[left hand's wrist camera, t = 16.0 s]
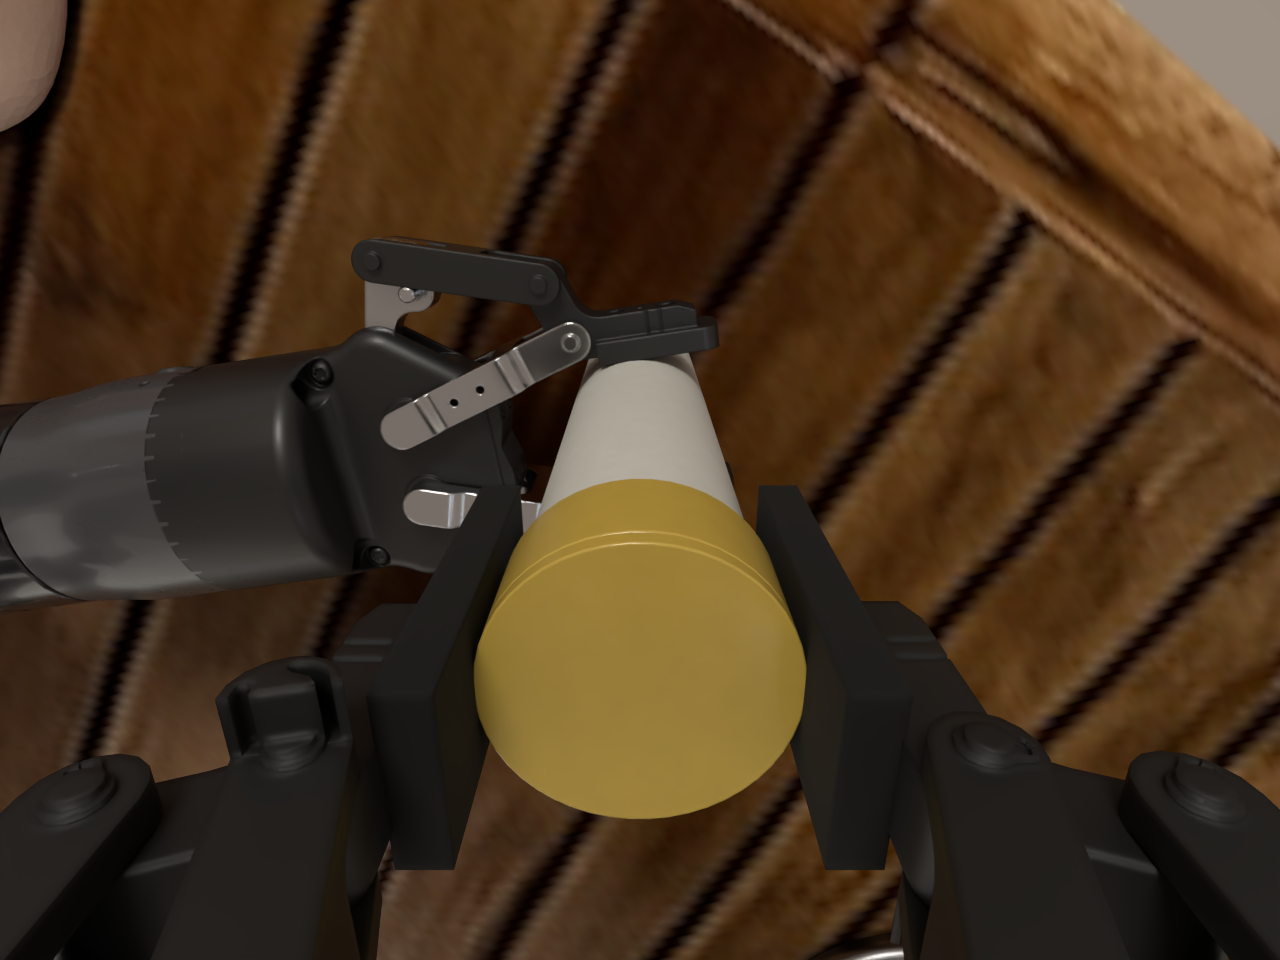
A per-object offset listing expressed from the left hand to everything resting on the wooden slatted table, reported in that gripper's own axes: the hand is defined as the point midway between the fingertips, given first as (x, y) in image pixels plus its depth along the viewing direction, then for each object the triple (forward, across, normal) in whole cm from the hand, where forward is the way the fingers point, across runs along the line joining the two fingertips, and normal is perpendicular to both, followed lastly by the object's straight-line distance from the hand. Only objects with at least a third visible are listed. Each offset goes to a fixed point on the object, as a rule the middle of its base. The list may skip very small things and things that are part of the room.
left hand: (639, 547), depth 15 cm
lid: (-4, 0, 0) cm, 4 cm away
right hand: (+9, -3, 0) cm, 10 cm away
